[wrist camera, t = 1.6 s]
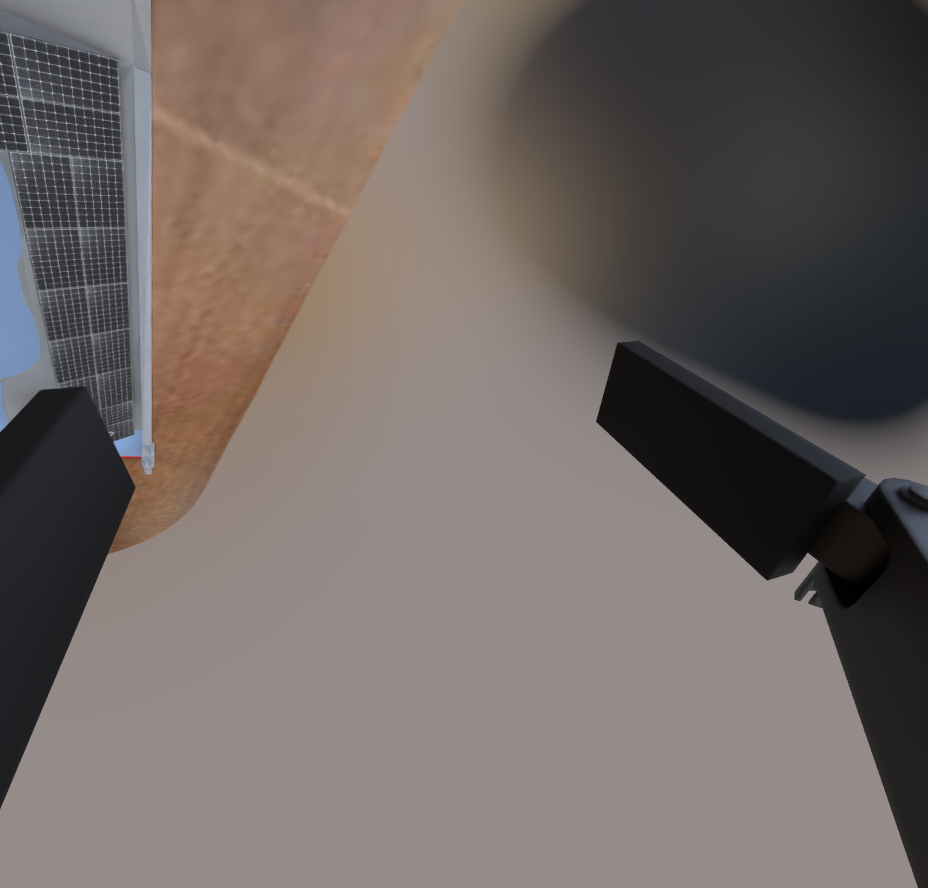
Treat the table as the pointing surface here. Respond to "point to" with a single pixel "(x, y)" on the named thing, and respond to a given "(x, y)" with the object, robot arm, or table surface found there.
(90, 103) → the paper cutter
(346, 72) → the table surface
